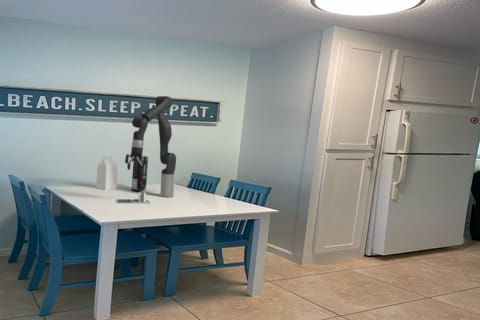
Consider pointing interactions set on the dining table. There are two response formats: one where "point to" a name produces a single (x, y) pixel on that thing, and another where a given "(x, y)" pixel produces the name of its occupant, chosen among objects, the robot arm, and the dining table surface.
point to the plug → (142, 197)
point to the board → (131, 201)
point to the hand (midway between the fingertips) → (134, 170)
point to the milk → (106, 174)
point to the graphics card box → (139, 176)
